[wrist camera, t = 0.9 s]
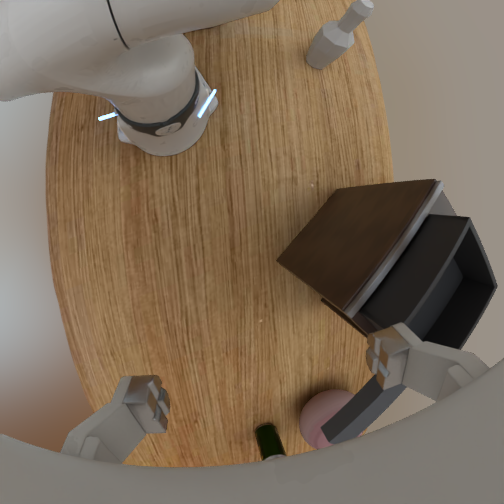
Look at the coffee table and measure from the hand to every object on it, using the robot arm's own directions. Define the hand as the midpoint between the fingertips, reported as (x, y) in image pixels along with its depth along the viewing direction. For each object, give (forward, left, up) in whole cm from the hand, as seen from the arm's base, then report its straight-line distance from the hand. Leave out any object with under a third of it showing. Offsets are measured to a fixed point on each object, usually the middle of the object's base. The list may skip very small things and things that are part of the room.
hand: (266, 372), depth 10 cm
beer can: (+46, -6, -40) cm, 61 cm away
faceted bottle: (-29, +31, -40) cm, 58 cm away
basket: (+12, +14, -13) cm, 22 cm away
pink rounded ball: (+44, +9, -40) cm, 60 cm away
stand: (+8, +20, -40) cm, 45 cm away
